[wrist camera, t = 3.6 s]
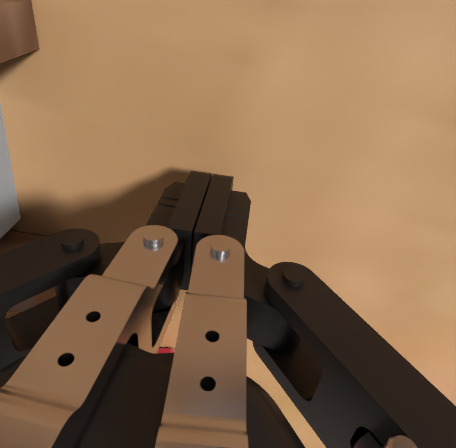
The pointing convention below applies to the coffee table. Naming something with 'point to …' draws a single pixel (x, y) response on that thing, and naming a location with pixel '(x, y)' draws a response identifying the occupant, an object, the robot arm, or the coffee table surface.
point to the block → (6, 186)
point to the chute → (3, 51)
